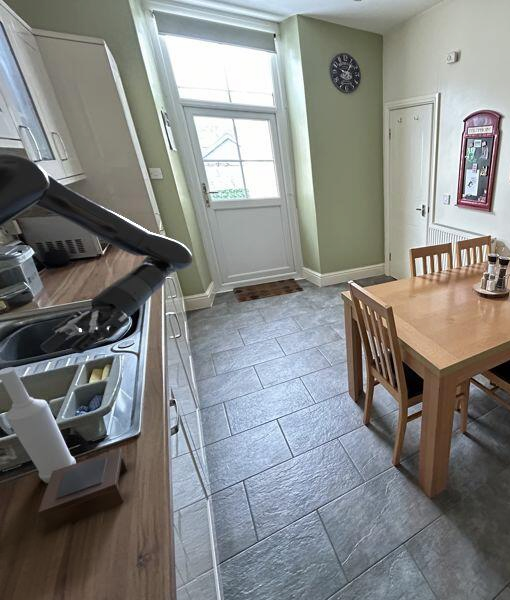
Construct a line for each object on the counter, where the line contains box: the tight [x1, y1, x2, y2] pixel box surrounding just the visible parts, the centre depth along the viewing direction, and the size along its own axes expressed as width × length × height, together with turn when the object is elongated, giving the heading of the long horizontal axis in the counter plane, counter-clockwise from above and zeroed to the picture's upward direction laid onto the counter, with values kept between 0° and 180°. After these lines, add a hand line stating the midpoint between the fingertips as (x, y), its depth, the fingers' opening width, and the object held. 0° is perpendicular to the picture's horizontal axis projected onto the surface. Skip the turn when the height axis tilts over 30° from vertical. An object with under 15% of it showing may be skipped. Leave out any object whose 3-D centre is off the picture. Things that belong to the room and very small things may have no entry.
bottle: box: [0, 366, 77, 484], centre depth 61 cm, size 5×5×25 cm
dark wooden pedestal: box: [37, 448, 129, 531], centre depth 61 cm, size 10×9×5 cm
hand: (59, 350), depth 65 cm, fingers open, 8 cm apart
